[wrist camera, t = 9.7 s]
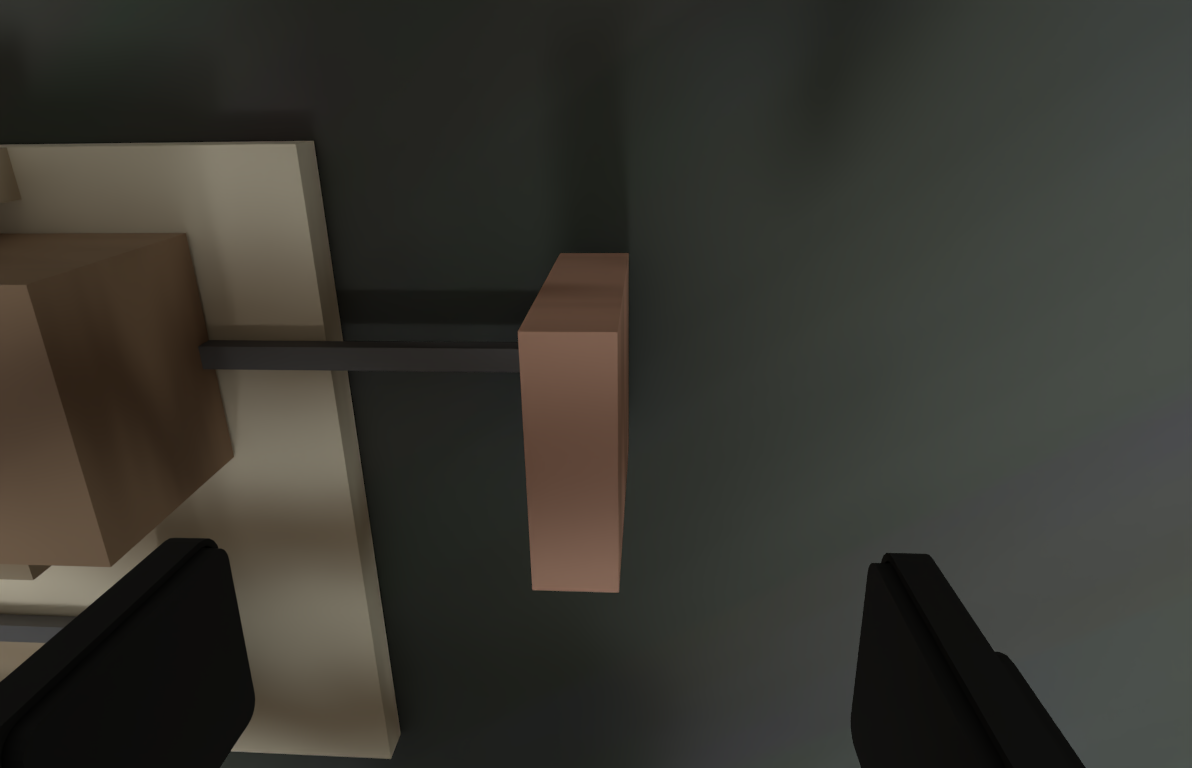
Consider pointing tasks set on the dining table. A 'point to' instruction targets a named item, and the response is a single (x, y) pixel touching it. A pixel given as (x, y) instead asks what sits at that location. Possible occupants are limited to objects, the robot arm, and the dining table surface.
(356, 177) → the dining table surface
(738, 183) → the dining table surface
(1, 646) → the lane shelf
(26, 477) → the walnut block
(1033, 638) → the dining table surface
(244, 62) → the dining table surface
